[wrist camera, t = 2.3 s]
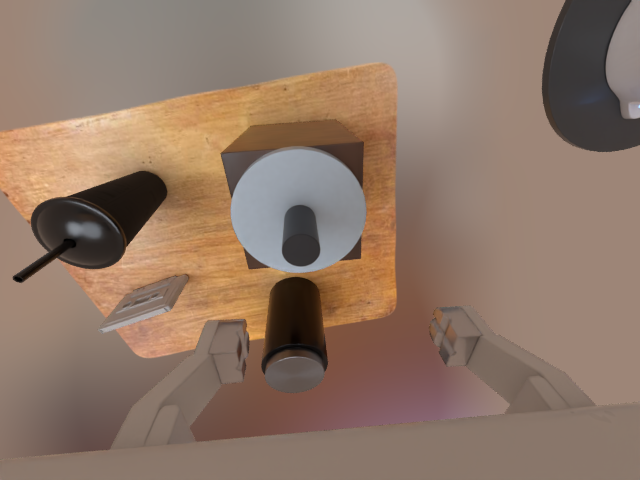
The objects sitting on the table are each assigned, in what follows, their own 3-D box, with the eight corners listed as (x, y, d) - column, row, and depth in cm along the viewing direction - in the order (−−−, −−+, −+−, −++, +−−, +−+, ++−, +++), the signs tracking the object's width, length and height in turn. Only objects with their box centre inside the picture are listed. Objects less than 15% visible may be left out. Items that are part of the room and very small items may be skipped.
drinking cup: (120, 207, 38) (-26, 310, 21) (114, 154, 34) (-70, 224, 17) (177, 218, 39) (85, 321, 22) (177, 167, 36) (67, 244, 18)
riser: (336, 119, 34) (363, 142, 20) (338, 199, 40) (360, 258, 26) (250, 125, 34) (220, 153, 20) (265, 205, 39) (248, 269, 26)
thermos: (318, 274, 47) (327, 350, 33) (321, 312, 51) (330, 391, 38) (266, 279, 46) (254, 358, 33) (273, 317, 51) (266, 399, 38)
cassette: (185, 271, 44) (165, 303, 37) (191, 279, 45) (173, 312, 38) (123, 293, 45) (93, 328, 39) (130, 300, 46) (102, 336, 40)
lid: (365, 140, 20) (389, 160, 15) (362, 259, 26) (379, 304, 21) (218, 152, 20) (190, 176, 15) (247, 270, 26) (235, 319, 20)
